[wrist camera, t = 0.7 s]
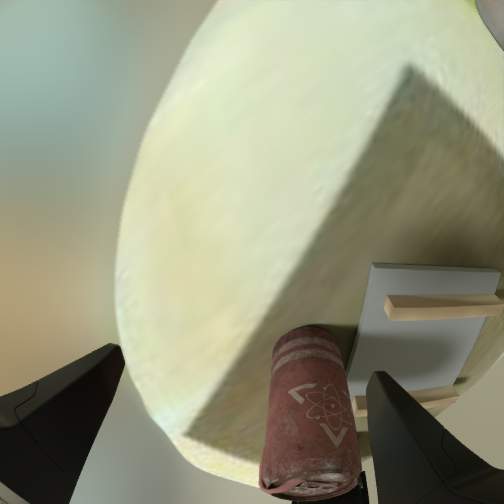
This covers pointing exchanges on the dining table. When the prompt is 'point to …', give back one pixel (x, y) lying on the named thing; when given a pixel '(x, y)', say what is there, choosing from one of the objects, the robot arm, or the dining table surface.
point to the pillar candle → (493, 17)
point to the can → (309, 421)
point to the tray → (420, 328)
